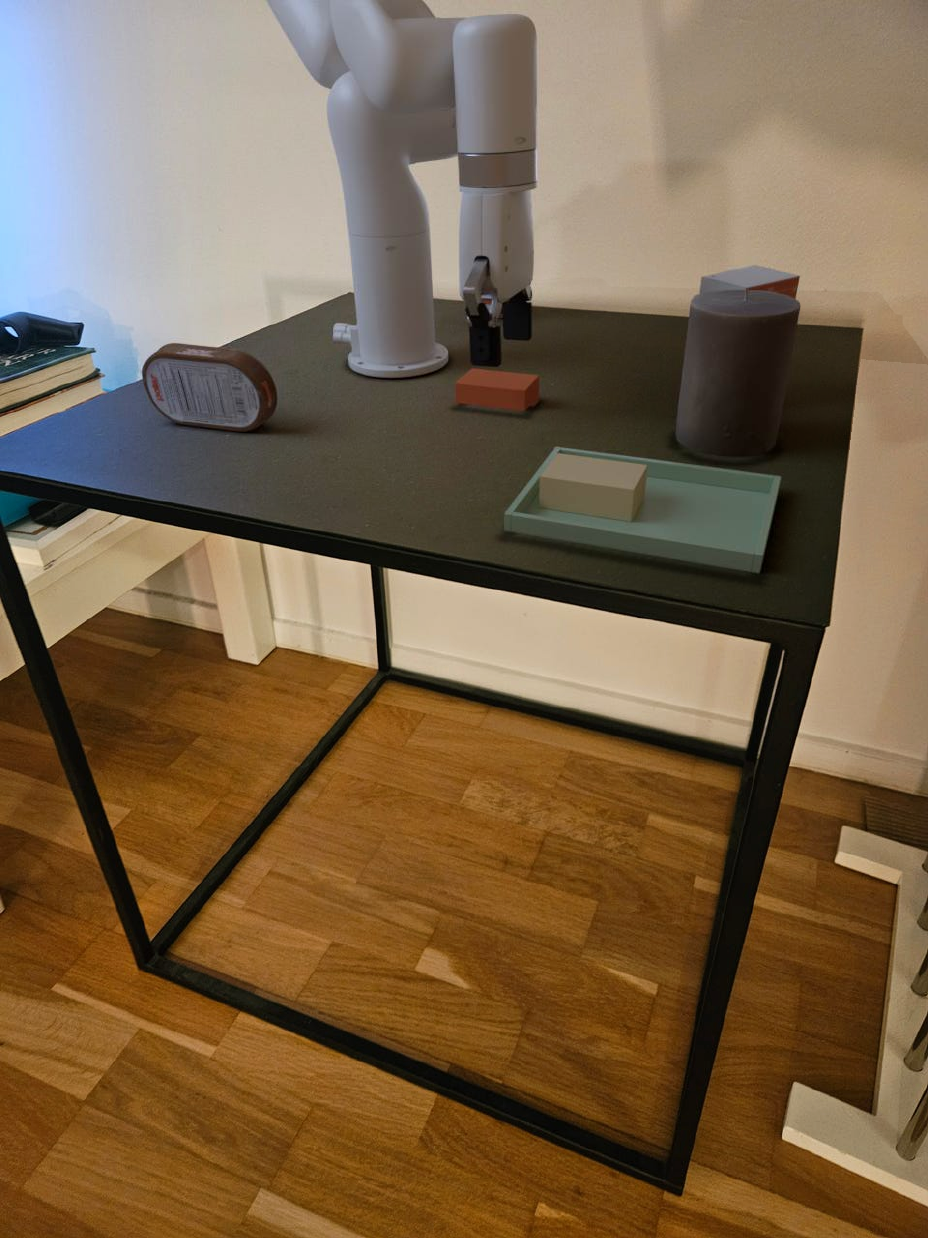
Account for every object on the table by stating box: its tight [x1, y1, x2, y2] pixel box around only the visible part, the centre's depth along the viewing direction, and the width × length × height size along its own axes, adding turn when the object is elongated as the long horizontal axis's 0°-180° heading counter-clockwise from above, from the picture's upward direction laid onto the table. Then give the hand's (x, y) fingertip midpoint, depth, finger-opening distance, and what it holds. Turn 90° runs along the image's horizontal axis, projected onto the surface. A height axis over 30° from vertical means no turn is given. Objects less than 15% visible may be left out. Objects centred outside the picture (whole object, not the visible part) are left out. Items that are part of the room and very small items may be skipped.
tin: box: [141, 342, 278, 433], centre depth 91 cm, size 15×3×8 cm, turn 71°
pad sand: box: [539, 453, 648, 522], centre depth 73 cm, size 8×5×3 cm, turn 68°
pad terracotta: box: [454, 368, 540, 412], centre depth 95 cm, size 8×5×3 cm, turn 68°
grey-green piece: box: [503, 446, 782, 574], centre depth 72 cm, size 20×14×2 cm
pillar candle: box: [675, 287, 801, 458], centre depth 81 cm, size 10×10×15 cm
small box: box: [698, 264, 801, 300], centre depth 92 cm, size 8×6×13 cm
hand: (502, 351), depth 92 cm, fingers open, 9 cm apart
